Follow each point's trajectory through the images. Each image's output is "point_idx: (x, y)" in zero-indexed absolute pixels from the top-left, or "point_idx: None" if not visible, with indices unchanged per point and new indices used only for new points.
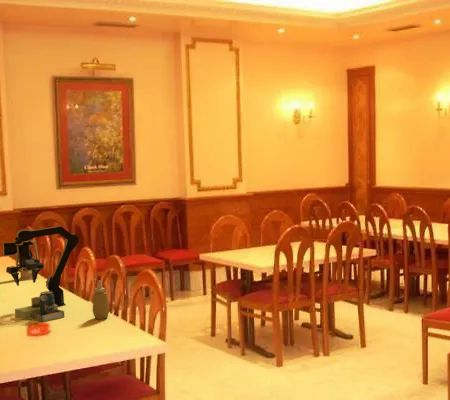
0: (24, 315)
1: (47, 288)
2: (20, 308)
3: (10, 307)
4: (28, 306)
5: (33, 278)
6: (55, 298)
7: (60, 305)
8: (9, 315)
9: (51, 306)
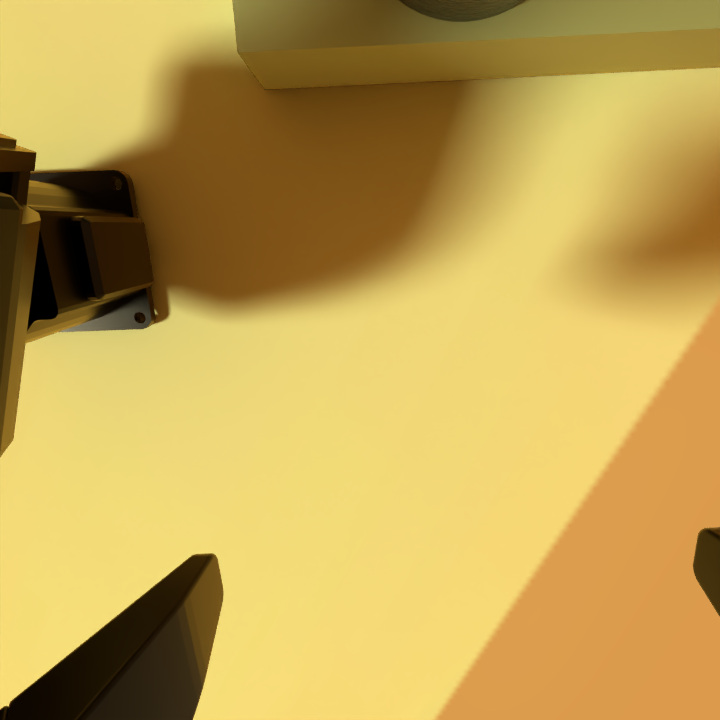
0: None
1: (21, 316)
2: None
3: (470, 574)
4: (594, 17)
5: (170, 701)
6: (39, 199)
7: (50, 174)
8: (705, 226)
9: None
